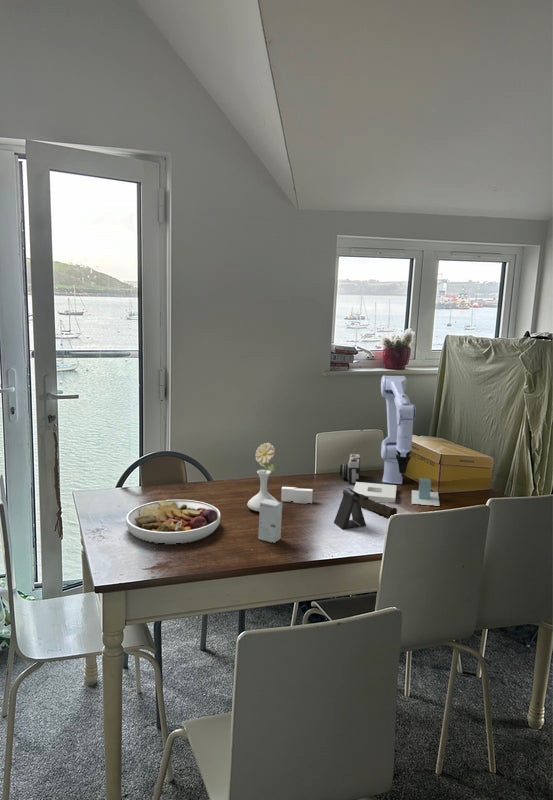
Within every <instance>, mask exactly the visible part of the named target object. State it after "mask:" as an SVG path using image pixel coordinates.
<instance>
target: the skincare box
mask: <svg viewBox="0 0 553 800" xmlns="http://www.w3.org/2000/svg"><path fill="white" fill-rule="evenodd" d="M258 515H259V516H258V517H259V518H258V536H257V538H258V540H261V541H264V542H268V543H272V542H273V544H274V543H276V541H277V542H278V541H280V540H281V538H282V536H281V535H282V519H283V518H282V517H283V501H278V500H277V501H275V500H269V499H265V500H263V501H262V502H260V511H259V514H258Z"/></svg>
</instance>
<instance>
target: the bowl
mask: <svg viewBox="0 0 553 800" xmlns="http://www.w3.org/2000/svg"><path fill="white" fill-rule="evenodd" d="M125 523H126V527H127V529H128V531H129V533H130V534H132V535H133V536H134V537H135V538H137V539H139V540H141V539H142V540H141V541H144V540H145V541H144V542H147V541H149V542H148V543H151V542H154V543H153V544H158V543H165V544H164V545H177V544H176V543H181V544H188V543H193V542H195V541H196V542H197V541H199V540H201V539H204V538H207V537H208V536H210V535H212V533H214V532H215V530H217V528H218V527H219V526H220V523H221V512H220V510H219V509H218V508H217V507H215V505H212V504H210V503H206V502H203V501H200V500H199V501H198V500H193V499H166V500H165V499H163V500H158V501H157V500H156V501H151V502H148V503H144V504H141V505H139V506H137V507H135V508H133V509H131V510H130V511H129V512H128V513H127V515H126V516H125ZM187 542H188V543H187Z"/></svg>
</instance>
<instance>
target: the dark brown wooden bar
mask: <svg viewBox="0 0 553 800" xmlns="http://www.w3.org/2000/svg"><path fill="white" fill-rule="evenodd" d="M358 494H359V493H358ZM359 495H360V498H359V502H360V506H361V509H367V510H369V511H373V512H375V513H377V514H380V515H382V516H385V517H388V518H389V517H390V516H391V515H394V514H398V508H396V507H391V506H388V505H386V504H384V503H383V504H382V503H381V502H375V501H372V500H370V499H368V498H369V497H367V496H365V495H362V494H359Z"/></svg>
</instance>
